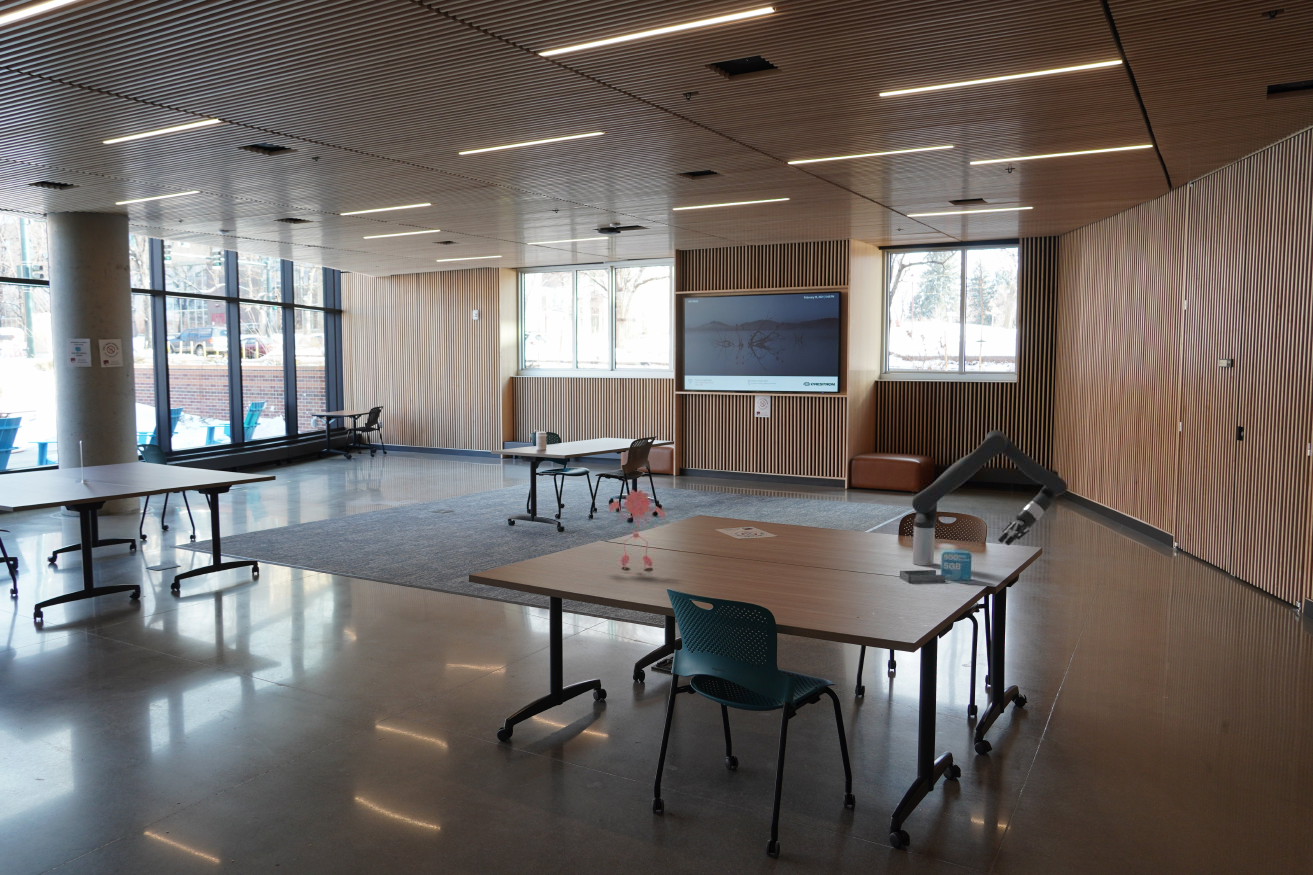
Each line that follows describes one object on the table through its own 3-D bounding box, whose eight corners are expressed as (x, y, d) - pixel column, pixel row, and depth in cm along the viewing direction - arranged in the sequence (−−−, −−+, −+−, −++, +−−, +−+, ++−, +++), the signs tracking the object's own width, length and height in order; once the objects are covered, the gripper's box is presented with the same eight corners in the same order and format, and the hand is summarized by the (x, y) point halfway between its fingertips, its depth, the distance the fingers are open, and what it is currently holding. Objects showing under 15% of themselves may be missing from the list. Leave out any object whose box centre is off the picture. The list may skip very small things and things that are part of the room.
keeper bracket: (899, 577, 385) (899, 570, 385) (935, 576, 387) (935, 569, 387) (908, 583, 376) (909, 575, 375) (945, 581, 378) (945, 574, 378)
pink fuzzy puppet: (663, 571, 396) (663, 492, 394) (606, 568, 401) (606, 490, 399) (668, 564, 411) (669, 488, 410) (614, 562, 416) (614, 487, 414)
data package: (941, 579, 383) (942, 551, 382) (940, 576, 387) (941, 549, 386) (970, 580, 380) (971, 552, 379) (969, 578, 384) (970, 550, 383)
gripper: (1015, 505, 392) (989, 533, 392) (1033, 511, 378) (1006, 539, 378) (1026, 517, 394) (1000, 545, 393) (1045, 523, 379) (1017, 552, 379)
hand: (1003, 542), depth 385 cm, fingers open, 5 cm apart
